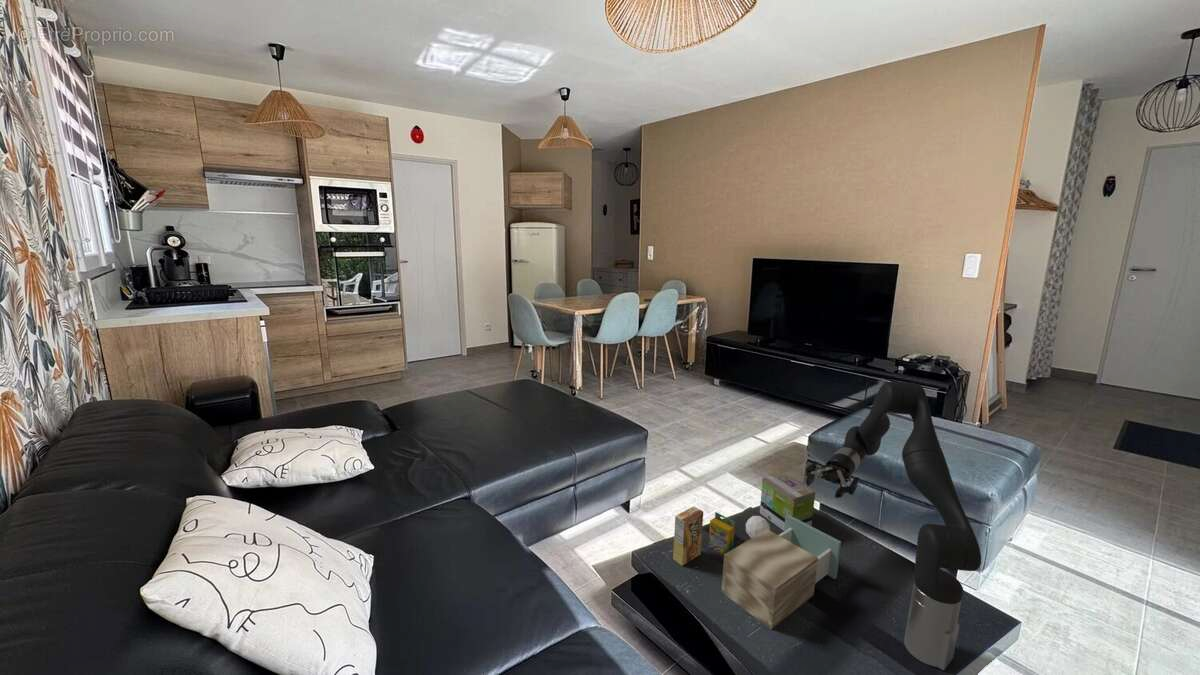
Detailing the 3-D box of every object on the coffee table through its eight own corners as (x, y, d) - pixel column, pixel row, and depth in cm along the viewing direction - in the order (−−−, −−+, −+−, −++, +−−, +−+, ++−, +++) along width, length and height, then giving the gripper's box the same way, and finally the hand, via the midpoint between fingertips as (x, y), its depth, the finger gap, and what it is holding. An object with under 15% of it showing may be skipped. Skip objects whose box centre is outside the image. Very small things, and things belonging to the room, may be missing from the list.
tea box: (758, 513, 170) (761, 476, 167) (779, 507, 175) (782, 471, 172) (790, 537, 157) (794, 497, 154) (812, 530, 161) (816, 490, 158)
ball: (761, 543, 158) (777, 527, 157) (756, 548, 151) (773, 531, 150) (743, 525, 162) (759, 509, 160) (738, 529, 155) (754, 512, 154)
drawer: (836, 577, 138) (841, 541, 135) (798, 608, 126) (802, 569, 124) (784, 547, 151) (787, 514, 149) (745, 572, 140) (748, 537, 137)
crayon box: (707, 547, 152) (709, 515, 149) (713, 543, 154) (715, 511, 151) (727, 558, 147) (730, 525, 144) (732, 554, 149) (735, 521, 146)
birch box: (813, 595, 132) (818, 557, 129) (771, 629, 120) (775, 588, 118) (764, 563, 144) (767, 528, 142) (721, 592, 133) (724, 554, 130)
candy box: (691, 548, 151) (693, 505, 148) (701, 554, 148) (704, 511, 145) (672, 559, 146) (674, 515, 143) (682, 567, 143) (685, 521, 139)
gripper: (821, 445, 155) (799, 469, 145) (868, 462, 145) (847, 489, 135) (820, 464, 158) (797, 489, 148) (865, 482, 148) (845, 510, 138)
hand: (821, 489), depth 141 cm, fingers open, 8 cm apart
